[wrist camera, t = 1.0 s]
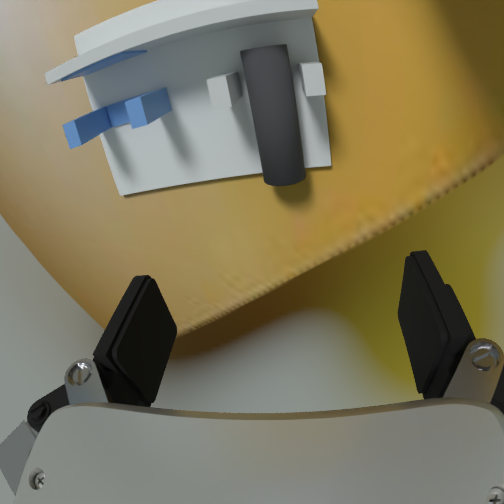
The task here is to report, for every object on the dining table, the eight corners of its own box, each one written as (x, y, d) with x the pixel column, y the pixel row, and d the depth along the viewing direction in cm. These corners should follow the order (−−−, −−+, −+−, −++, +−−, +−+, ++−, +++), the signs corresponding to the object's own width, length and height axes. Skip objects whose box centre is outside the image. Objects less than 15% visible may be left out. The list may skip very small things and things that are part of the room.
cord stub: (242, 51, 20) (237, 50, 17) (285, 45, 20) (287, 43, 17) (264, 172, 26) (263, 188, 23) (304, 168, 25) (307, 183, 23)
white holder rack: (77, 35, 20) (37, 39, 15) (301, -28, 16) (306, -48, 12) (122, 193, 28) (95, 222, 24) (330, 163, 25) (340, 191, 21)
